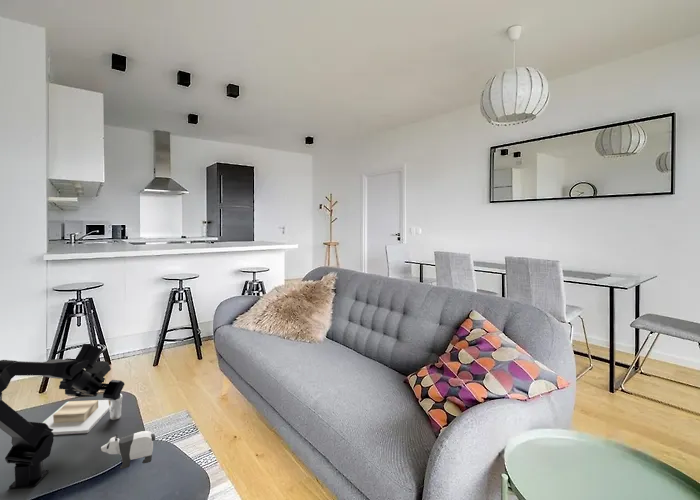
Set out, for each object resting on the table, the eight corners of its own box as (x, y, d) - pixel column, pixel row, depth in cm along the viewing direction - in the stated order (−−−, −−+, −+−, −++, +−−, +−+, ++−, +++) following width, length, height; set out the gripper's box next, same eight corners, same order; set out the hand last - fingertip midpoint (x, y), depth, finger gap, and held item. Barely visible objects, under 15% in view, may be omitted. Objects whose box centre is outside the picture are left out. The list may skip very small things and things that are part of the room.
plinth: (84, 421, 133) (84, 413, 133) (53, 423, 131) (53, 415, 131) (98, 407, 143) (98, 400, 142) (69, 408, 141) (69, 401, 141)
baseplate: (87, 432, 128) (87, 430, 128) (29, 436, 125) (29, 433, 124) (116, 401, 149) (116, 399, 149) (67, 403, 146) (67, 401, 146)
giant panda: (155, 451, 119) (155, 423, 118) (155, 462, 114) (155, 433, 113) (102, 463, 113) (101, 434, 112) (99, 474, 108) (98, 444, 107)
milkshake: (105, 422, 134) (105, 396, 133) (110, 415, 139) (110, 390, 139) (119, 421, 135) (119, 395, 135) (124, 413, 141) (124, 389, 140)
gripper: (120, 359, 125) (142, 376, 137) (70, 355, 127) (96, 372, 139) (102, 392, 118) (127, 407, 130) (50, 387, 120) (79, 402, 132)
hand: (108, 396), depth 133 cm, fingers open, 9 cm apart
